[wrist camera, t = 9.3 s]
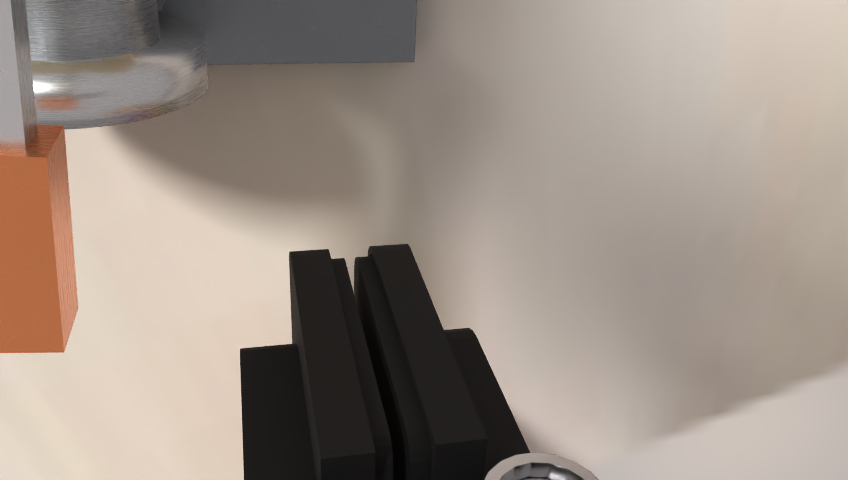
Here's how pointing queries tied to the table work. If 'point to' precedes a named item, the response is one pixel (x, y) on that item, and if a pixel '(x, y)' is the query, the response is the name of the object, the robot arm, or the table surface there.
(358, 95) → the table surface
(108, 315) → the table surface
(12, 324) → the valve lever
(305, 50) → the valve body
